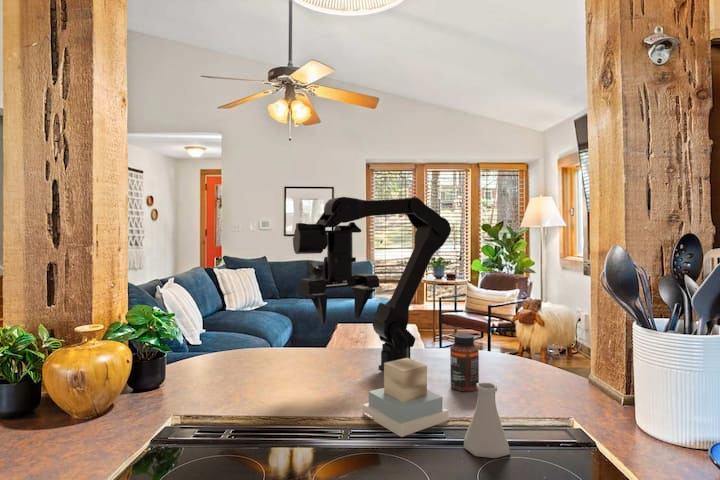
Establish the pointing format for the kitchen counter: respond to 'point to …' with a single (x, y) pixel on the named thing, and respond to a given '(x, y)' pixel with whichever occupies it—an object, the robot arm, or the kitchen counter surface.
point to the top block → (405, 405)
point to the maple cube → (405, 379)
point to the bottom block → (407, 426)
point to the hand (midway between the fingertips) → (340, 321)
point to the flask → (486, 426)
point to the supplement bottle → (464, 363)
